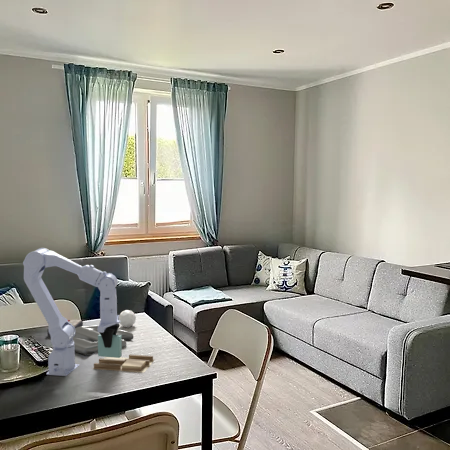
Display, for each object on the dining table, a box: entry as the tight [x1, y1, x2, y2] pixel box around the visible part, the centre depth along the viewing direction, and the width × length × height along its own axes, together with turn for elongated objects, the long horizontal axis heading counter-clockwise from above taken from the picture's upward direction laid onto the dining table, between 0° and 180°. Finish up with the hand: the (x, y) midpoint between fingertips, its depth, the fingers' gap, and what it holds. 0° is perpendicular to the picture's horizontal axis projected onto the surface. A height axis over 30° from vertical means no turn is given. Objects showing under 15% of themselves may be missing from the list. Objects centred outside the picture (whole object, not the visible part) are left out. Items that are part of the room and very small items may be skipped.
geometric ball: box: [118, 309, 137, 328], centre depth 215 cm, size 8×8×8 cm
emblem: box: [73, 324, 134, 356], centre depth 192 cm, size 28×5×28 cm
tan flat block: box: [122, 364, 146, 371], centre depth 165 cm, size 5×7×1 cm
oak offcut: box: [122, 360, 146, 369], centre depth 165 cm, size 5×7×1 cm
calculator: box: [46, 319, 84, 338], centre depth 208 cm, size 11×4×15 cm
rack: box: [92, 354, 155, 374], centre depth 169 cm, size 12×19×2 cm, turn 81°
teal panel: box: [97, 334, 123, 358], centre depth 166 cm, size 2×8×8 cm, turn 81°
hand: (109, 346), depth 166 cm, fingers closed on teal panel, 2 cm apart
